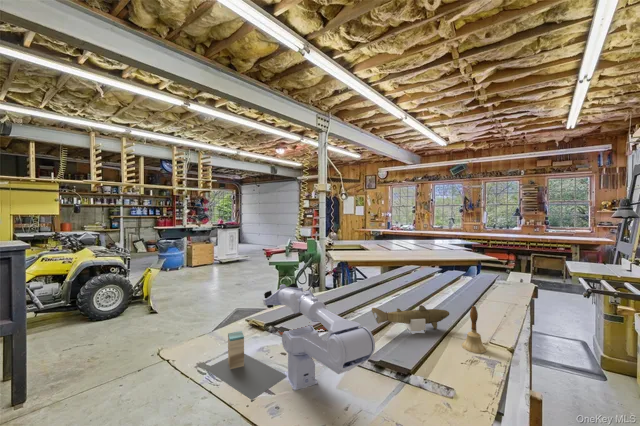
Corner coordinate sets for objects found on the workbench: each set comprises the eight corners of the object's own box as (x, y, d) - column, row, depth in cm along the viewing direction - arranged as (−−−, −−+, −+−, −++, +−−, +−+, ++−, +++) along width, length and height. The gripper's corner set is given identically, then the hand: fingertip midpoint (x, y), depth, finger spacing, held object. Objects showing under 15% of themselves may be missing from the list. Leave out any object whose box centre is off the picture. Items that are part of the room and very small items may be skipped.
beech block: (244, 366, 95) (244, 336, 95) (230, 369, 93) (229, 338, 93) (241, 359, 99) (241, 330, 99) (228, 362, 97) (228, 333, 97)
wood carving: (368, 329, 125) (368, 303, 125) (442, 324, 130) (442, 300, 130) (374, 338, 116) (374, 311, 116) (454, 333, 121) (454, 307, 121)
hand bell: (463, 351, 106) (464, 309, 106) (460, 341, 114) (460, 301, 114) (489, 355, 104) (490, 311, 103) (483, 344, 112) (484, 304, 111)
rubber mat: (287, 377, 90) (287, 375, 90) (251, 401, 79) (251, 399, 79) (240, 353, 105) (240, 351, 105) (204, 370, 94) (204, 368, 94)
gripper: (306, 279, 99) (290, 277, 111) (267, 292, 92) (254, 288, 103) (310, 300, 99) (294, 295, 111) (271, 314, 91) (258, 307, 103)
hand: (275, 293), depth 107 cm, fingers open, 7 cm apart
